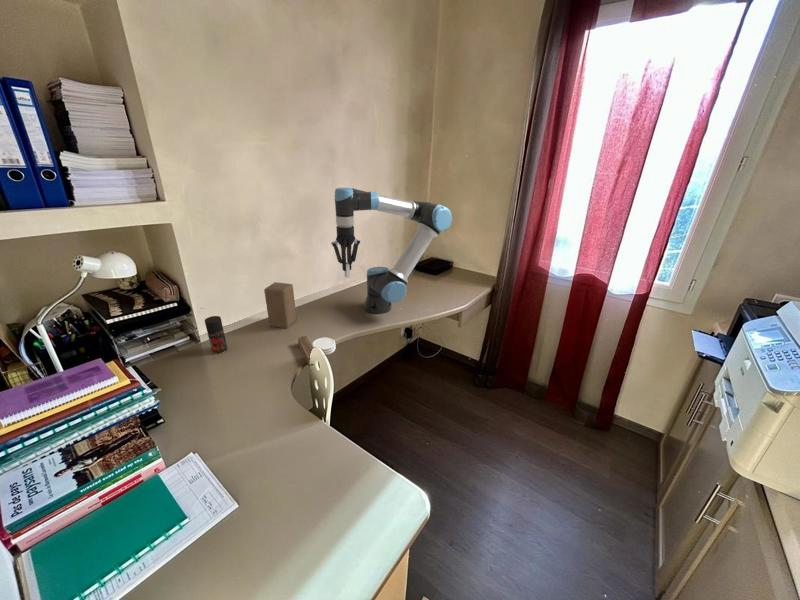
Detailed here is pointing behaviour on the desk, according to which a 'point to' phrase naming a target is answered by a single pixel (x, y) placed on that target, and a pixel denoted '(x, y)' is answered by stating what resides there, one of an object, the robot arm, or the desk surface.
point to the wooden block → (280, 304)
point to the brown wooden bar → (305, 347)
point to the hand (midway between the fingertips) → (347, 276)
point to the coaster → (325, 345)
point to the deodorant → (216, 334)
